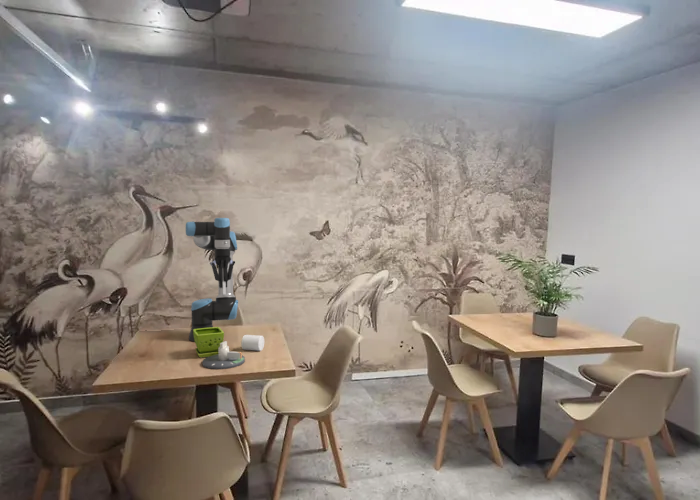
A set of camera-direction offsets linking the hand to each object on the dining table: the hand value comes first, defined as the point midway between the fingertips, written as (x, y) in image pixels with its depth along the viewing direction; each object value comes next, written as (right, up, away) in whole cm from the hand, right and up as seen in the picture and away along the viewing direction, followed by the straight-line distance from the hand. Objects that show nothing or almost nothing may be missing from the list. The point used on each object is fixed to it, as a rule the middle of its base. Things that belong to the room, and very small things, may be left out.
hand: (223, 293), depth 226 cm
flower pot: (-9, -32, +5) cm, 34 cm away
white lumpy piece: (+6, -31, -10) cm, 33 cm away
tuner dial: (+3, -33, -9) cm, 34 cm away
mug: (+13, -32, +15) cm, 37 cm away
